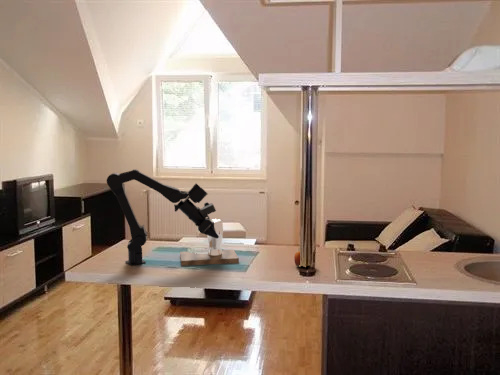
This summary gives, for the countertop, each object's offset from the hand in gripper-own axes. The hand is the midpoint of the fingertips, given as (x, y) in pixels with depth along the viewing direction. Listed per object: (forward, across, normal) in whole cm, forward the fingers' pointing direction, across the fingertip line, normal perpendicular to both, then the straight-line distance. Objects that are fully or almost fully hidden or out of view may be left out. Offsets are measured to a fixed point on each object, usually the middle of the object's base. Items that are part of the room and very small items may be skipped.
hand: (217, 235), depth 206 cm
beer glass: (+6, 0, +7) cm, 9 cm away
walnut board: (+5, 0, +10) cm, 11 cm away
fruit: (+31, -18, -16) cm, 40 cm away
